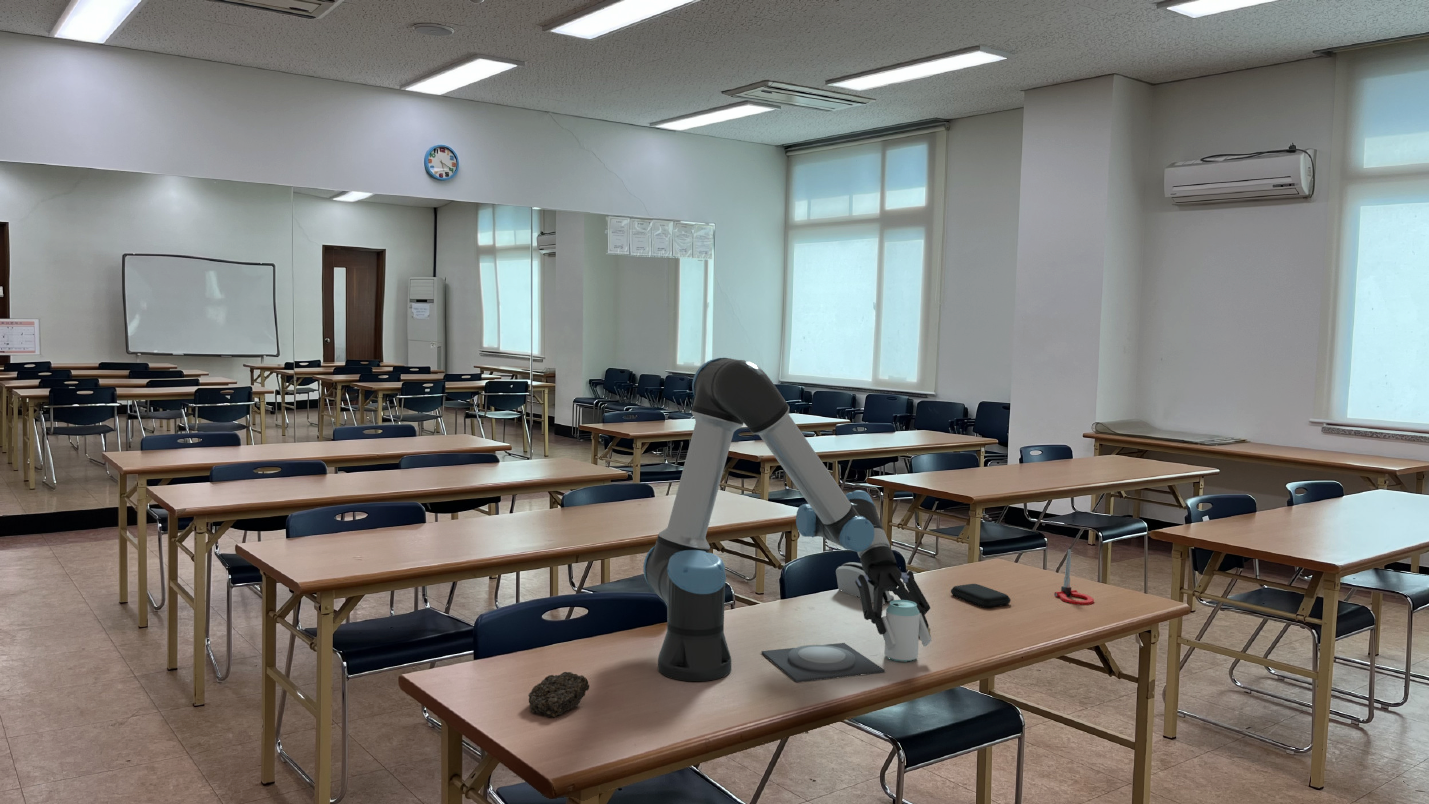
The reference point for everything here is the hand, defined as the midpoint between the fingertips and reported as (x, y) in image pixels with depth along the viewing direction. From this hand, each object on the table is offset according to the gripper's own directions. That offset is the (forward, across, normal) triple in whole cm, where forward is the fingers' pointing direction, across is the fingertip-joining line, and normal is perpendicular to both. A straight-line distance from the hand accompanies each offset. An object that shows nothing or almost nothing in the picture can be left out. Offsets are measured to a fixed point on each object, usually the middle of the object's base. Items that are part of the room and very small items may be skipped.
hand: (909, 644), depth 209 cm
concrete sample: (+4, +76, -2) cm, 76 cm away
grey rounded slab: (-31, -15, -37) cm, 51 cm away
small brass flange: (-10, -12, -15) cm, 21 cm away
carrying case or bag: (-23, -44, -29) cm, 58 cm away
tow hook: (-18, -69, -24) cm, 75 cm away
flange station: (-1, +18, -6) cm, 19 cm away
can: (+1, 0, -5) cm, 5 cm away
